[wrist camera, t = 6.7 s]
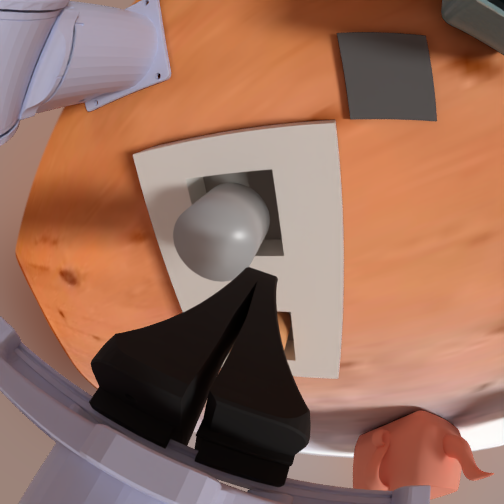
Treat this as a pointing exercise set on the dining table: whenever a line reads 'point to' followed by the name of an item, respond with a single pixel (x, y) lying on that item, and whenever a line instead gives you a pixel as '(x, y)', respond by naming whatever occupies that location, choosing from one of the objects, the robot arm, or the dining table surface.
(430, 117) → the mat
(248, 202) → the grey button
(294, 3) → the dining table surface
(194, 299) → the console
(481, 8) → the flower pot
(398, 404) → the dining table surface
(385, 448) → the teapot
